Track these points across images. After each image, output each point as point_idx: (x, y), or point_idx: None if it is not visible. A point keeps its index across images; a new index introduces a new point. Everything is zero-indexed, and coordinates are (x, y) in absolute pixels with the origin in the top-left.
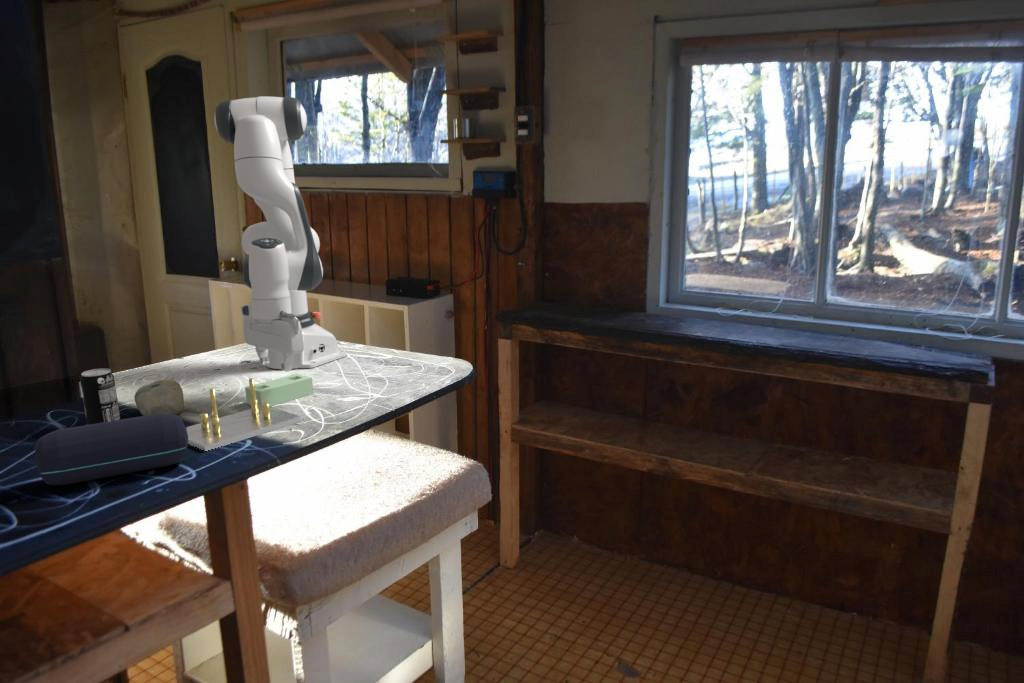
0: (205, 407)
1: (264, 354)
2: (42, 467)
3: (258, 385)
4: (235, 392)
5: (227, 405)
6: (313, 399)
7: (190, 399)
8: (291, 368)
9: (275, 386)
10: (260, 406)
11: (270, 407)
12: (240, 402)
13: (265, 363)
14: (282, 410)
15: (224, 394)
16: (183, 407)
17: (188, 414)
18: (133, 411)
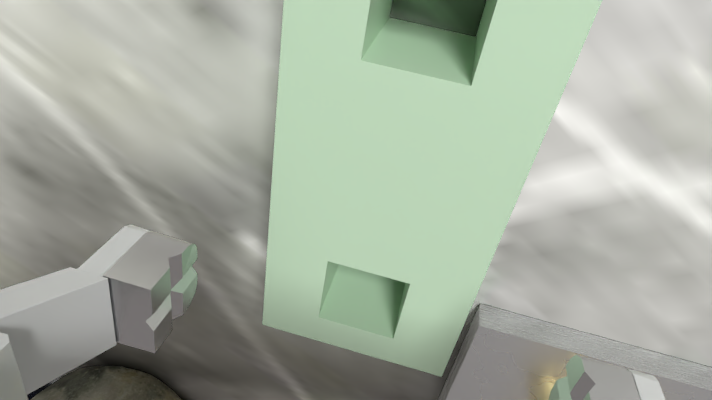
0: (180, 328)
1: (71, 315)
2: None
3: (305, 281)
4: (46, 119)
5: (235, 291)
6: (700, 44)
7: (16, 266)
8: (661, 391)
9: (448, 272)
10: (480, 350)
11: (554, 354)
12: (246, 244)
13: (187, 286)
14: (670, 378)
15: (42, 167)
16: (156, 390)
17: (211, 392)
18: (31, 392)
